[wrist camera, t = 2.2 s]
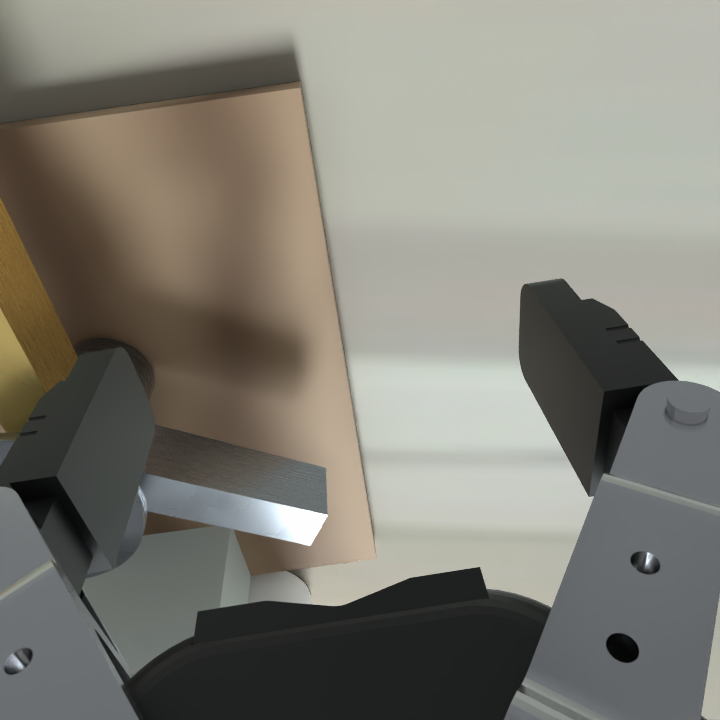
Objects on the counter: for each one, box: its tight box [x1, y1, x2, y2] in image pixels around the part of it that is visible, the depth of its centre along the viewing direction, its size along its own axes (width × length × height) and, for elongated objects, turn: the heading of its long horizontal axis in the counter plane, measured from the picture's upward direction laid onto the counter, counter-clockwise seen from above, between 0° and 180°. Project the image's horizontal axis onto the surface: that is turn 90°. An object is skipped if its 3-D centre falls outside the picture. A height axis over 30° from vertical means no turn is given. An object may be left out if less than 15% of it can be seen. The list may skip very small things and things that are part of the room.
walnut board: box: [0, 81, 376, 576], centre depth 26 cm, size 21×24×1 cm
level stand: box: [82, 526, 251, 675], centre depth 27 cm, size 10×4×10 cm, turn 97°
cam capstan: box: [0, 197, 328, 578], centre depth 19 cm, size 16×14×7 cm
